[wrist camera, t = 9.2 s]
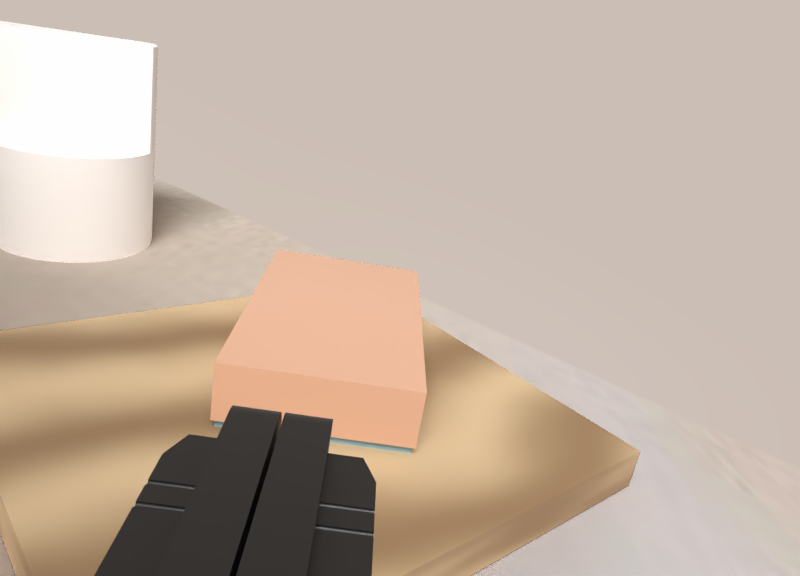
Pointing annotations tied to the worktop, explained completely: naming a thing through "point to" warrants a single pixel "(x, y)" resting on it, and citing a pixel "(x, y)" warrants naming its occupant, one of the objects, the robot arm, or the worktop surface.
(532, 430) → the board
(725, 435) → the worktop surface
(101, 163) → the base with upright slab
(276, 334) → the tile
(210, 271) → the worktop surface
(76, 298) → the worktop surface
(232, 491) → the robot arm
